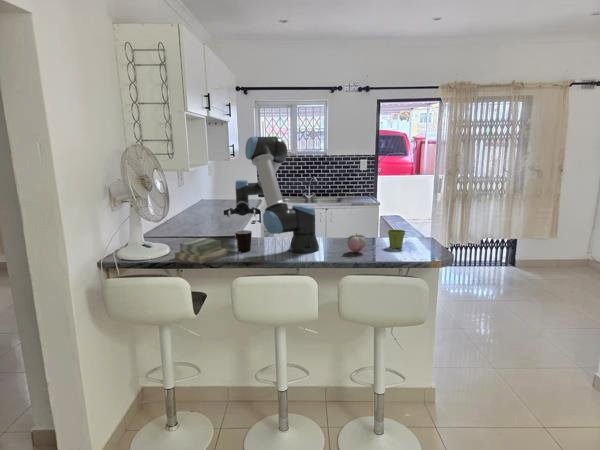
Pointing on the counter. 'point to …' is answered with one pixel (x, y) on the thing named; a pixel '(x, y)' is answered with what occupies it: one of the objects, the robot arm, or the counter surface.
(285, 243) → the counter surface
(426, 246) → the counter surface
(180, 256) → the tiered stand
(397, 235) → the plant pot
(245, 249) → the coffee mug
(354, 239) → the decorative fruit
